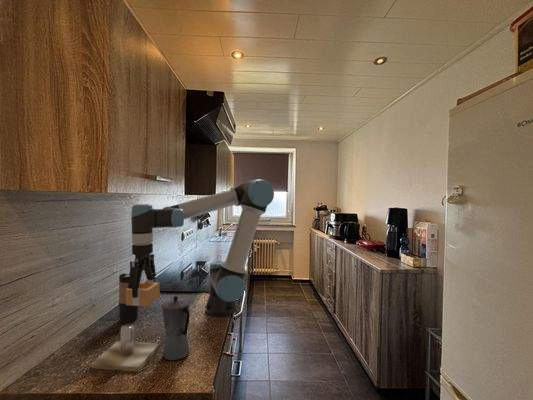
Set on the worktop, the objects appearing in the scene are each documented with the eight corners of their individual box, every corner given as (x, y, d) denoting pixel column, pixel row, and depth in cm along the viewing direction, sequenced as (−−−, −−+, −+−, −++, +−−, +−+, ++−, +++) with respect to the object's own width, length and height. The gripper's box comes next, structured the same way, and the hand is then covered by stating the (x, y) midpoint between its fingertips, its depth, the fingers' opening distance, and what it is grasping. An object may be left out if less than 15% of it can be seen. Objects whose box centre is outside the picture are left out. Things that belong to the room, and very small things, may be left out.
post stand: (117, 344, 104) (117, 316, 104) (159, 347, 102) (159, 319, 102) (90, 368, 90) (90, 335, 90) (138, 371, 88) (138, 338, 88)
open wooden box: (138, 296, 116) (138, 282, 116) (159, 297, 115) (159, 282, 115) (125, 305, 107) (125, 289, 107) (148, 306, 106) (148, 290, 106)
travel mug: (130, 324, 120) (130, 277, 119) (114, 322, 122) (114, 276, 121) (141, 316, 127) (142, 272, 127) (127, 315, 129) (127, 271, 129)
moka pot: (176, 341, 107) (177, 289, 106) (202, 356, 97) (202, 299, 97) (153, 352, 99) (153, 296, 99) (178, 369, 90) (178, 307, 89)
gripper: (147, 238, 122) (148, 290, 122) (116, 249, 100) (117, 311, 101) (164, 239, 121) (164, 291, 122) (136, 249, 99) (137, 312, 100)
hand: (143, 300), depth 111 cm, fingers closed on open wooden box, 9 cm apart
